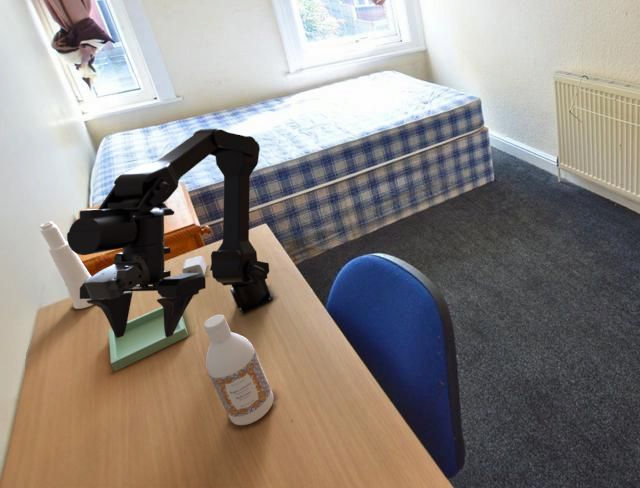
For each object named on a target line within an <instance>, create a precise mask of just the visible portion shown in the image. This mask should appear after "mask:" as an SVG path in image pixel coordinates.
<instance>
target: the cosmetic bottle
mask: <svg viewBox="0 0 640 488" xmlns="http://www.w3.org/2000/svg"><path fill="white" fill-rule="evenodd" d="M39 227H40V233H41V234H42V237H43V238H44V239H45V240H44V241H46V243H47V245H48V246H49V247H48V252H49V254H50V256H51V259H52V260H53V262H54V264H55V266H56V268H57V270H58V272H59V274H60V277H61V278H62V281H63V282H64V285H65V287H66V290H67V292H68V294H69V296H70V299H71V302H72V306H73V308H74V309H75V310H81V309H86V308H89V307H92V306H95V305H94V304H89V303H87V300H91V299H80V287H81V286H82V285H83V283H84V281H85V280H87V279H88V278H90V277H92V275H91V274H90V272H89V271H88V269H87V267H86V266H85V265H84V263H83V261H82V260H81V258H80V257H79V254H77V253H75V252H74V251H72V250H71V248H70V247H69V244H68V242H67V241H66V239H65V237H64V236H63V234H62V232H61V230H60V229H59V226H58V225H57V224H55V223H54V222H53V221H47V222H44V223H41V224H40V225H39Z"/></svg>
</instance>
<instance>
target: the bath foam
mask: <svg viewBox="0 0 640 488" xmlns="http://www.w3.org/2000/svg"><path fill="white" fill-rule="evenodd" d="M203 328H204V330H205V333H206V334H207V336H208V339H209V341H210V343H209V346H208V349H207V352H206V355H205V356H206V357H205V368H206V372H207V374H208V377H209V378H210V381H211V382H212V385H213V387H214V389H215V391H216V393H217V396H218V397H219V400H220V401H221V403H222V405H223V407H224V409H225V412H226V413H227V415H228V417H229V419H230V421H231V423H232V424H234V425H236V426H246V425H250V424H252V423H255V422H257V421H259V420H260V419H261V418H263V417H264V416H265V415H266V414H267V413H268V412H269V411H270V409H271V408H272V405H273V403H274V393H273V390H272V388H271V386H270V383H269V380H268V378H267V376H266V373H265V371H264V369H263V365H262V364H261V361H260V359H259V357H258V354H257V351H256V349H255V347H254V346H253V344H252V343H251V342H250V340H249V339H248V338H246V337H245V336H243V335H241V334H239V333H236V332H232V330H231V329H230V326H229V324H228V322H227V319H226V317H225V315H223V314H215V315H212V316H211V317H209V318H208V319H206V320H205V321H204V323H203Z"/></svg>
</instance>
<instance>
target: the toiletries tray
mask: <svg viewBox="0 0 640 488" xmlns="http://www.w3.org/2000/svg"><path fill="white" fill-rule="evenodd" d="M187 337H189V333H188V330H187V326H186V323H185V320H184V317H183V315H182V317H181V319H180V321H179V323H178V325H177V327H176V329H175V331H174V333H173V335H172V336H170V337H166V336H165V331H164V312H163V306H162V305H161V306H160V307H157V308H156V309H153V310H150V311H148V312H147V313H145V314H142V315H140V316H138V317H135V318H133V319H131V320H128V321H127V326H126V330H125V333H124V336H122V337H119V338H116V336H115V334H114V332H113V330H112V328H109V329H108V344H109V358H110V365H111V366H112V369H113V370H114V372H117V371H119V370H121V369H123V368H125V367H127V366H130V365H132V364H133V363H135V362H138V361H140V360H142V359H144V358H146V357H148V356H150V355H153V354H155V353H156V352H158V351H161V350H162V349H164V348H167V347H169V346H171V345H173V344H175V343H177V342H179V341H181V340H184V339H185V338H187Z"/></svg>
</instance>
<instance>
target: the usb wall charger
mask: <svg viewBox="0 0 640 488" xmlns="http://www.w3.org/2000/svg"><path fill="white" fill-rule="evenodd" d="M206 270H207V263H206V260H205V258H204V256H203V255H196V256H193V257H190V258H187V259H185V261H184V263H183V267H182V269H181V273H182V274H183V273H201V274H202V275H203V276H204V277H205V274H206Z"/></svg>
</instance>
